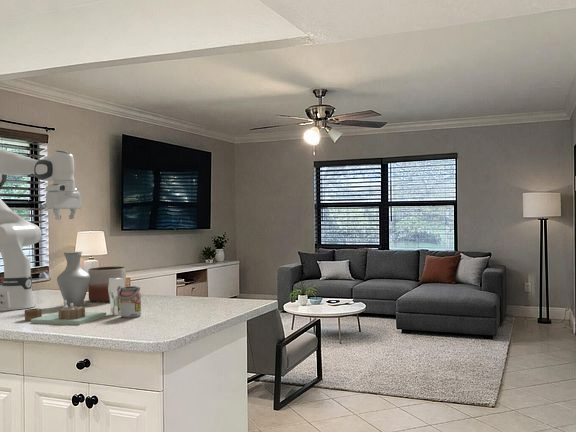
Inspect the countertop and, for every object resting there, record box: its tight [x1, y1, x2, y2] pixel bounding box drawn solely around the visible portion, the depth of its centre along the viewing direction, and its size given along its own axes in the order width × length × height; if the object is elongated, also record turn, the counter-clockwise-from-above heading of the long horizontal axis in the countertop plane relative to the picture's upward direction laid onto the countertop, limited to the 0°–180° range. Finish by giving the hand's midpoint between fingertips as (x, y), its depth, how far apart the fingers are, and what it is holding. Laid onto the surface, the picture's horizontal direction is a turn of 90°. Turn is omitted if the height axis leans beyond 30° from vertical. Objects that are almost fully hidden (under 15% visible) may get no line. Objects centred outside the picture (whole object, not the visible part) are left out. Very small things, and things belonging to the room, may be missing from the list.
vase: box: [56, 251, 90, 307], centre depth 263 cm, size 14×14×25 cm
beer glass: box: [108, 278, 125, 316], centre depth 238 cm, size 7×7×15 cm
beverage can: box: [118, 285, 142, 319], centre depth 231 cm, size 9×8×12 cm
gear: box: [24, 307, 43, 322], centre depth 230 cm, size 6×6×4 cm
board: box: [30, 300, 107, 326], centre depth 228 cm, size 22×18×7 cm
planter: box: [87, 265, 127, 303], centre depth 279 cm, size 18×18×16 cm
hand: (65, 219), depth 248 cm, fingers open, 8 cm apart
